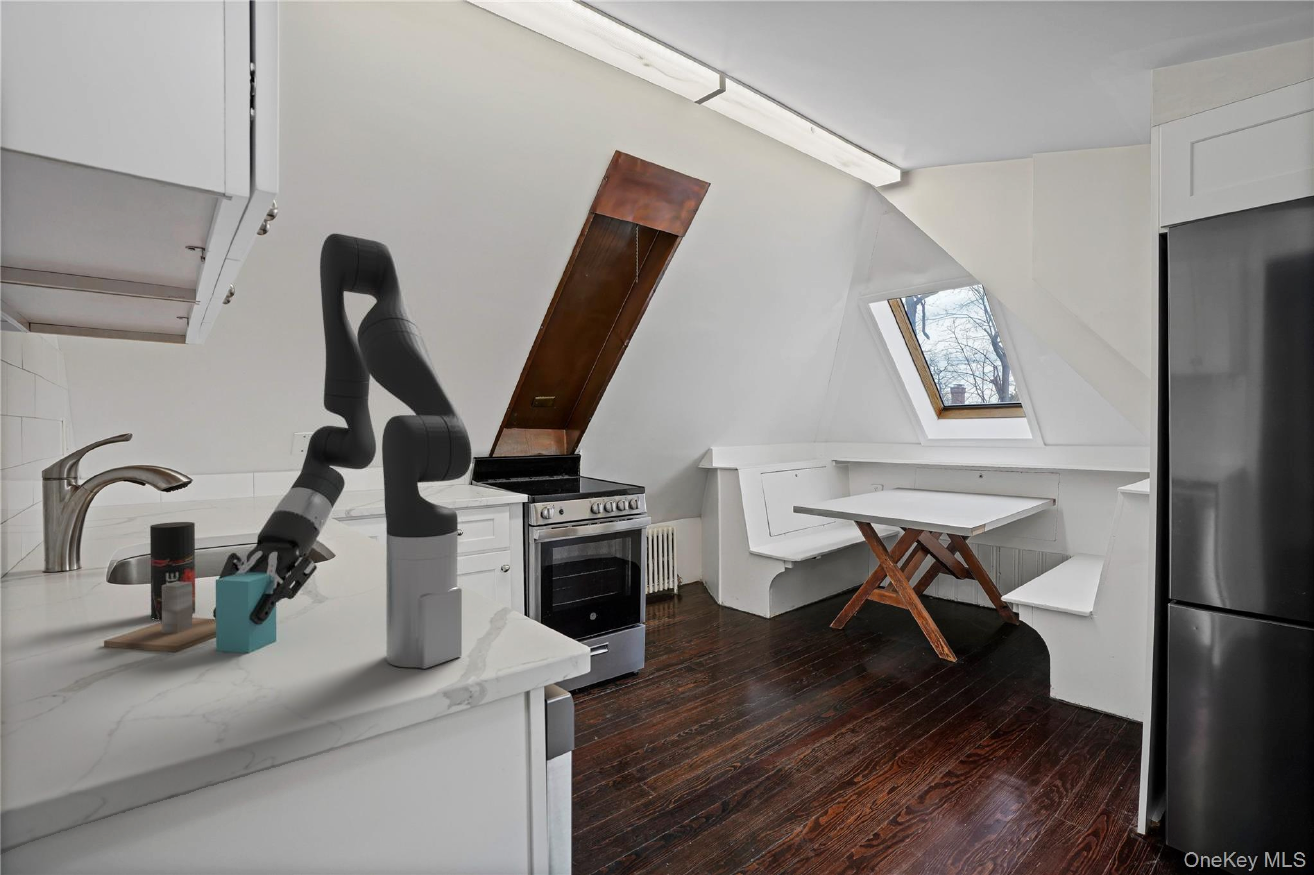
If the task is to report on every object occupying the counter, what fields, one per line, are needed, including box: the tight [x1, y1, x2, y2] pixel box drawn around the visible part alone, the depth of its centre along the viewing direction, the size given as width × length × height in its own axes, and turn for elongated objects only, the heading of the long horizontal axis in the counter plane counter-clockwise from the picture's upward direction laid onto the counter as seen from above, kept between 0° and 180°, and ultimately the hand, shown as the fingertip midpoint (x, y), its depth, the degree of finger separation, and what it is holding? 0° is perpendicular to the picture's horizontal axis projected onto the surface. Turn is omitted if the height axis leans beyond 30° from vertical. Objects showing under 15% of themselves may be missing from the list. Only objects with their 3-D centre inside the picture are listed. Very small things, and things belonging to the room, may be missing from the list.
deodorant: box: [149, 521, 196, 621], centre depth 109 cm, size 6×6×15 cm
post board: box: [103, 581, 216, 653], centre depth 99 cm, size 12×12×8 cm
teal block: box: [215, 572, 277, 654], centre depth 95 cm, size 5×5×10 cm
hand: (236, 620), depth 93 cm, fingers closed on teal block, 5 cm apart
